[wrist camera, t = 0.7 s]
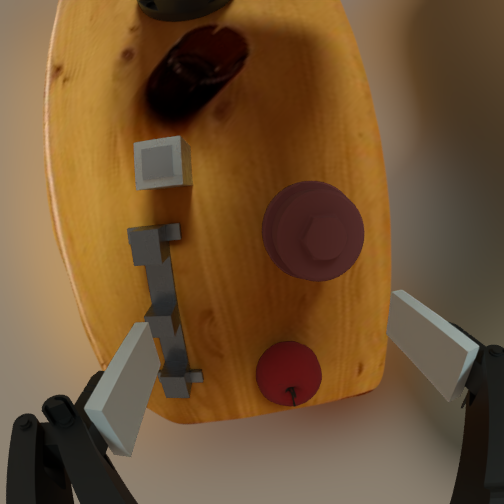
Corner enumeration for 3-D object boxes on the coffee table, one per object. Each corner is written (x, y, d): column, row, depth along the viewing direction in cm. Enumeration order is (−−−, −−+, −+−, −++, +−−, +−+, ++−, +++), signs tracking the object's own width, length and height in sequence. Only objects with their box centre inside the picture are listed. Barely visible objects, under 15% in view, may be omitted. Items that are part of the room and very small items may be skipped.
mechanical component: (344, 232, 36) (283, 274, 36) (306, 167, 34) (240, 211, 34) (393, 253, 24) (307, 314, 24) (343, 158, 22) (244, 223, 22)
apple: (324, 352, 40) (346, 393, 30) (283, 388, 41) (294, 432, 31) (284, 320, 38) (299, 359, 28) (240, 360, 39) (243, 405, 29)
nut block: (152, 151, 32) (132, 142, 25) (190, 146, 32) (179, 135, 25) (154, 189, 33) (135, 190, 26) (192, 185, 33) (182, 184, 26)
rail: (129, 227, 34) (116, 233, 29) (180, 222, 34) (172, 227, 30) (160, 379, 39) (155, 397, 35) (203, 379, 39) (201, 397, 35)
